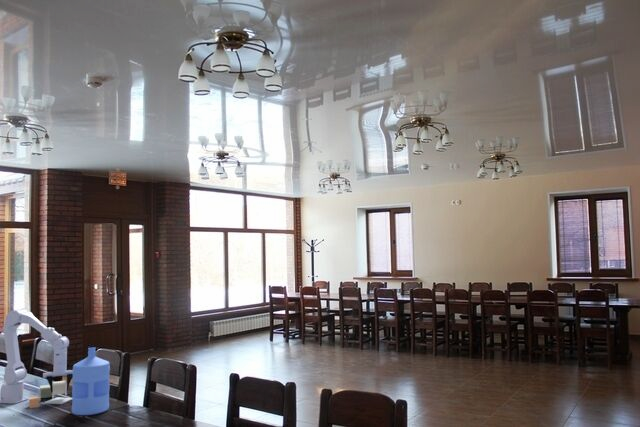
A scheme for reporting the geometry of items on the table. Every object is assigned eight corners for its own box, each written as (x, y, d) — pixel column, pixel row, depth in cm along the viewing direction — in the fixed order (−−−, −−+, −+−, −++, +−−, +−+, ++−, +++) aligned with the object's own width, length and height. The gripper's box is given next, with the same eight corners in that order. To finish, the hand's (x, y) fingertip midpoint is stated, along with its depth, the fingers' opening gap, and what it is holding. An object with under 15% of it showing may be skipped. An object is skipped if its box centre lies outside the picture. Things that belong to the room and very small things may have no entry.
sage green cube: (39, 398, 261) (39, 385, 261) (52, 396, 264) (53, 384, 264) (39, 400, 256) (39, 388, 256) (53, 399, 258) (53, 386, 259)
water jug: (72, 408, 242) (73, 346, 244) (108, 404, 248) (109, 344, 251) (70, 417, 228) (72, 352, 230) (109, 413, 234) (110, 349, 236)
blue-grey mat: (44, 403, 251) (44, 402, 251) (57, 398, 260) (57, 397, 260) (60, 404, 250) (61, 403, 250) (73, 399, 258) (73, 398, 258)
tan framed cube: (52, 394, 256) (52, 382, 257) (65, 392, 259) (66, 380, 260) (52, 397, 251) (52, 384, 251) (66, 395, 254) (66, 383, 254)
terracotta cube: (29, 406, 247) (29, 397, 247) (38, 405, 249) (39, 396, 249) (29, 408, 243) (29, 399, 244) (38, 407, 245) (39, 398, 246)
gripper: (43, 365, 249) (42, 395, 248) (77, 362, 256) (76, 390, 255) (43, 363, 256) (42, 391, 254) (76, 359, 262) (75, 387, 261)
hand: (59, 391), depth 255 cm, fingers closed on tan framed cube, 6 cm apart
